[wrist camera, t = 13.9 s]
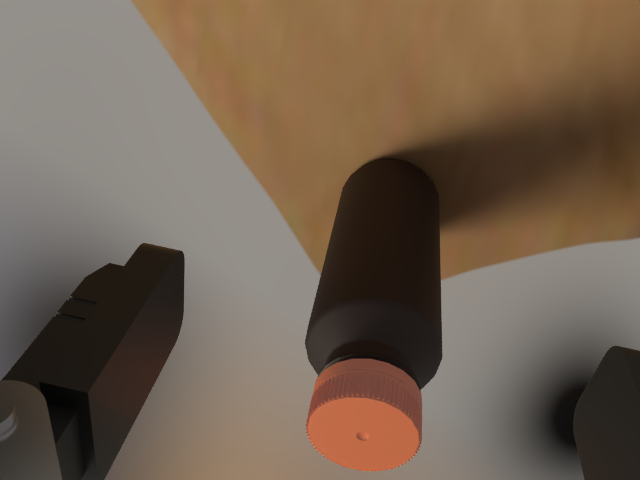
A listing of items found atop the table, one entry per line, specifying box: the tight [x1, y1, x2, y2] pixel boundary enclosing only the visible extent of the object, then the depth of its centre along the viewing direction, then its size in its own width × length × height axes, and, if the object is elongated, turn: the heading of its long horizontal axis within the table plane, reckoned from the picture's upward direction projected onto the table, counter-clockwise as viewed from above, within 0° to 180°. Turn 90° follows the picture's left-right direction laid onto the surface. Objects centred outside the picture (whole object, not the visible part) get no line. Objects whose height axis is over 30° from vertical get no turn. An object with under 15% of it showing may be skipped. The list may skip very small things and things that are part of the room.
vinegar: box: [305, 159, 442, 471], centre depth 34 cm, size 7×7×20 cm
